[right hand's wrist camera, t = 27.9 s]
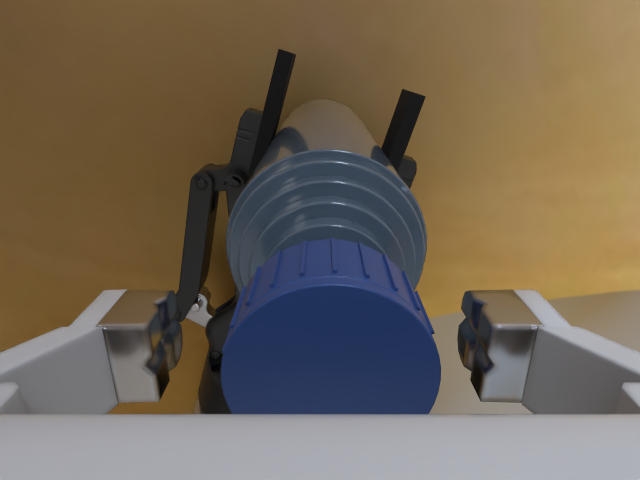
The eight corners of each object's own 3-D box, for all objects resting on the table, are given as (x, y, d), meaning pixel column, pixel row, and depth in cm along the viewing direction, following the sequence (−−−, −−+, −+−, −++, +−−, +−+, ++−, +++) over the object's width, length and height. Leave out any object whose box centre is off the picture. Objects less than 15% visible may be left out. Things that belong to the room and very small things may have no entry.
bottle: (297, 83, 29) (228, 150, 7) (382, 121, 30) (552, 279, 8) (265, 170, 31) (137, 423, 9) (346, 202, 32) (401, 502, 10)
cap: (364, 200, 9) (376, 238, 7) (450, 347, 10) (480, 413, 8) (200, 292, 10) (170, 348, 8) (299, 418, 11) (295, 493, 9)
